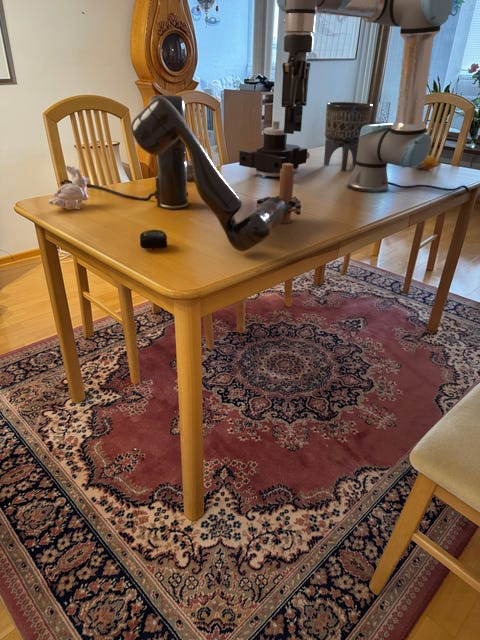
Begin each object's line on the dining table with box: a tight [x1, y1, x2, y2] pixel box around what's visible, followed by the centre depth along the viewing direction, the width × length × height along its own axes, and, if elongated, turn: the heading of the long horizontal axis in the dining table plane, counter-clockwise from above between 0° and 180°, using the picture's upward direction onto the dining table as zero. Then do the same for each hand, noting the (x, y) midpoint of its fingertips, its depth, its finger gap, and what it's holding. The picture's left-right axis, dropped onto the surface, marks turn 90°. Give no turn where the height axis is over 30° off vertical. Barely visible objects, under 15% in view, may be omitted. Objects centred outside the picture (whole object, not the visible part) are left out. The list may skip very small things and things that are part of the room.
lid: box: [294, 114, 303, 123], centre depth 126 cm, size 5×5×2 cm
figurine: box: [47, 165, 90, 210], centre depth 144 cm, size 8×15×13 cm, turn 145°
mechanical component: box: [238, 120, 311, 178], centre depth 191 cm, size 22×21×30 cm
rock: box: [186, 160, 195, 182], centre depth 182 cm, size 13×9×6 cm, turn 131°
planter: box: [323, 101, 374, 172], centre depth 204 cm, size 20×20×26 cm
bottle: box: [278, 163, 295, 224], centre depth 135 cm, size 4×4×17 cm
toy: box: [417, 154, 440, 170], centre depth 211 cm, size 11×6×15 cm
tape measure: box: [139, 229, 168, 250], centre depth 117 cm, size 7×7×4 cm
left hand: (287, 199), depth 139 cm, fingers closed on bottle, 4 cm apart
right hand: (292, 132), depth 128 cm, fingers closed on lid, 4 cm apart
